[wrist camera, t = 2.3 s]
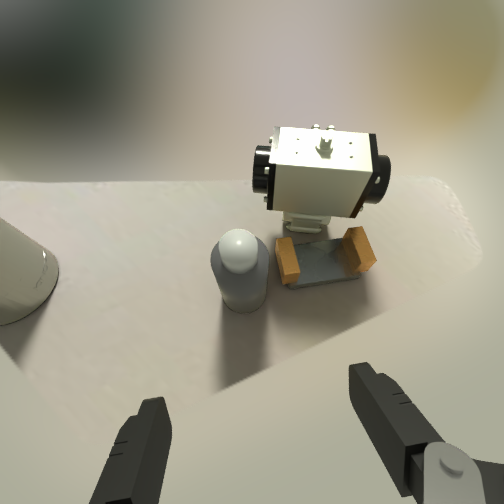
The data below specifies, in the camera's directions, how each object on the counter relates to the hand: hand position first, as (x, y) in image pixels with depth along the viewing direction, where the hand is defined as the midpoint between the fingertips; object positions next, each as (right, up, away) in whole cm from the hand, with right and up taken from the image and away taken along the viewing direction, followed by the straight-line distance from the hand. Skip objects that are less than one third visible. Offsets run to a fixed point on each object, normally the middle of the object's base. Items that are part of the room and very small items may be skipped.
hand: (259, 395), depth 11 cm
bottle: (-1, +2, +16) cm, 17 cm away
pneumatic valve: (+6, +10, +21) cm, 24 cm away
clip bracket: (+7, +5, +18) cm, 20 cm away
